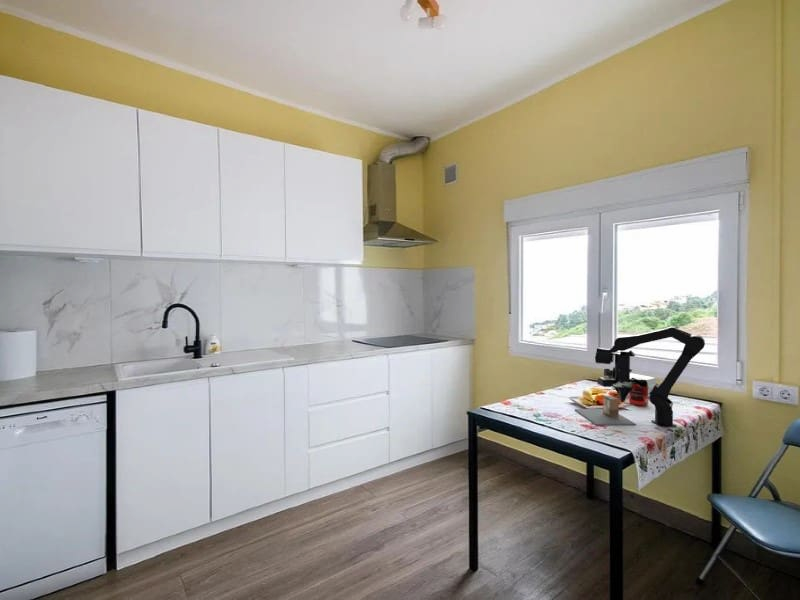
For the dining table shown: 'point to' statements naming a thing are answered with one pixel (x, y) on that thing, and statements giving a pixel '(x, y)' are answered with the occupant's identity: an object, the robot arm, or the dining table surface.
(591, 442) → the dining table surface
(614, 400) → the block
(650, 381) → the supplement box
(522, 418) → the dining table surface
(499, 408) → the dining table surface
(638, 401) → the canned food
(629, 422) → the mat
